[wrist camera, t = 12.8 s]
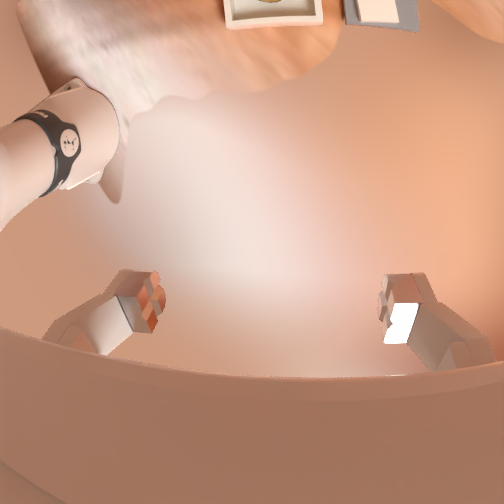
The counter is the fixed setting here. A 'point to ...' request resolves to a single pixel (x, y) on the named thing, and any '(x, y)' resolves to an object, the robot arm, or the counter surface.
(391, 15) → the tile
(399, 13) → the slate board
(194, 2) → the counter surface
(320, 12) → the bin
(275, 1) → the sauce bottle
